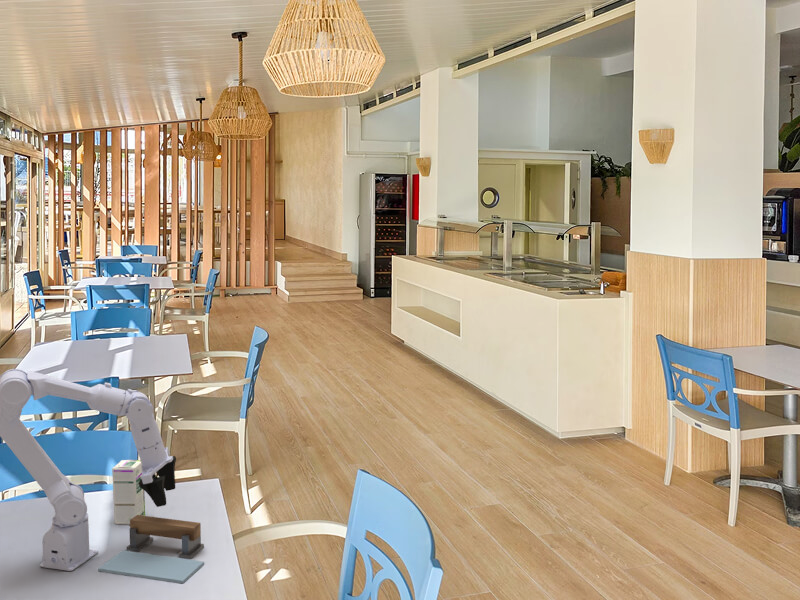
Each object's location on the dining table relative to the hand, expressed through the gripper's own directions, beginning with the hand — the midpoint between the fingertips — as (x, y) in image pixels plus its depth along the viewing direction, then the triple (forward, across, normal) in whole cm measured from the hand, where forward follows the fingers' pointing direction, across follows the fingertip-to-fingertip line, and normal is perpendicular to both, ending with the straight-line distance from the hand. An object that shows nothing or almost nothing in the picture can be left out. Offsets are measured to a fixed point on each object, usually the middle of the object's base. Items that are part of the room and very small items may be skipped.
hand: (166, 497), depth 177 cm
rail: (+7, -4, +1) cm, 8 cm away
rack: (+10, -5, +2) cm, 11 cm away
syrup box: (+9, +11, +15) cm, 21 cm away
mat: (+9, -14, +2) cm, 17 cm away
